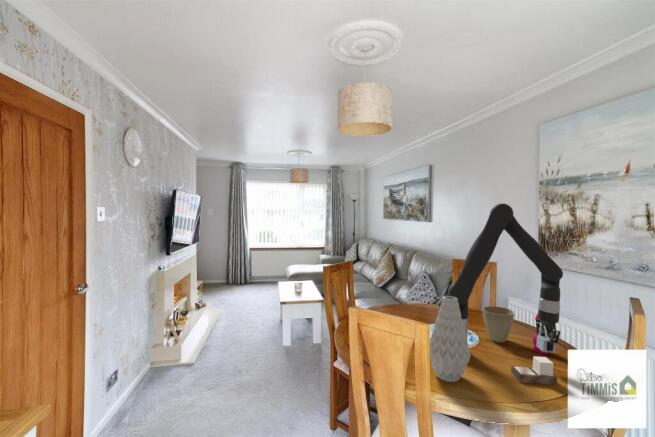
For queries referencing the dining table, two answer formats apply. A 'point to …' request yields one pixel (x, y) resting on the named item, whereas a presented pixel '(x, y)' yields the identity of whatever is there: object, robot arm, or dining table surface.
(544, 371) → the cube cream
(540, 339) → the cube blue
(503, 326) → the plant pot
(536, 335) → the pepper mill
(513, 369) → the plank
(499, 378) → the dining table surface
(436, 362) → the vase
